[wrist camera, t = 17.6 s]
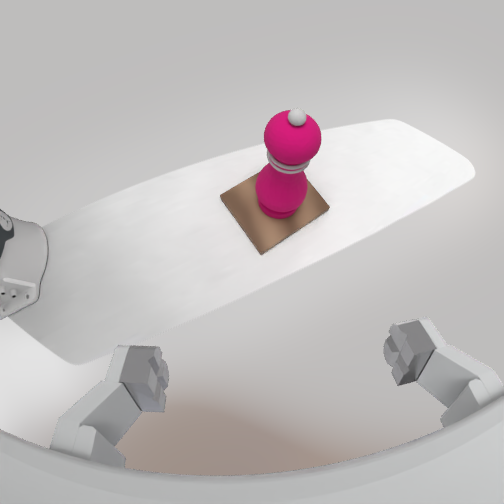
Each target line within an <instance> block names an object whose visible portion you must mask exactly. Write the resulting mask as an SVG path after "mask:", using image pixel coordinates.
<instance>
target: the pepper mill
mask: <svg viewBox="0 0 504 504" xmlns="http://www.w3.org/2000/svg"><path fill="white" fill-rule="evenodd" d="M264 142H265V145H266V148H267V158H268V161H269V163H268V164H267V165H266V166H265V167H264V168H263V169H262V170H261V171H260V173H259V175H258V177H257V180H256V185H255V190H256V194H257V197H258V204H259V207H260V208H261V210H262V211H263V212H264V213H265V214H266V215H268V216H269V217H272V218H275V219H284V218H287V217H289V216H291V215H292V214H294V212H295V211H296V210H297V208H298V207H299V206H300V205H301V204H302V203H303V201H304V199H305V197H306V194H307V189H308V185H307V178H306V175H305V173H304V171H303V170H304V169H305V168H306V167H307V166H308V165H309V162H310V159H312V158H313V157H314V156H315V155H316V154H317V152H318V150H319V148H320V145H321V131H320V128H319V126H318V125H317V123H316V122H315V121H314V120H313V119H312V118H311V117H310V116H309V115H307V114H306V113H305V112H304V111H303V110H301V109H299V108H296V109H292V110H288V111H283V112H281V113H278V114H276V115H275V116H274V117H273V118H271V120H270V121H269V122H268V124H267V126H266V128H265V132H264Z"/></svg>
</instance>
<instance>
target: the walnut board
mask: <svg viewBox="0 0 504 504" xmlns="http://www.w3.org/2000/svg"><path fill="white" fill-rule="evenodd" d="M259 173H260V172H259ZM259 173H257V174H255V175H254V176H252V177H250V178H248V179H247V180H245V181H243V182H242V183H240V184H238V185H236V186H235V187H233V188H231V189H230V190H228V191H226V192H225V193H223V194H221V195H220V197H221V200H222V201H223V202H224V204H225V205H226V207H227V208H228V209H229V211H230V212H231V214H232V215H233V216H234V218H235V219H236V221H237V222H238V223H239V225H240V226H241V228H242V229H243V230H244V232H245V233H246V235H247V236H248V237H249V239H250V240H251V242H252V243H253V244H254V246H255V247H256V249H257V250H258V251H259V253H260V254H261V255H262V254H263V253H265V252H266V251H268V250H269V249H271V248H272V247H274V246H275V245H277V244H278V243H280V242H281V241H283V240H284V239H286V238H287V237H289V236H290V235H292V234H293V233H295V232H296V231H298V230H299V229H301V228H302V227H304V226H305V225H307V224H308V223H310V222H311V221H313V220H314V219H316V218H317V217H319V216H320V215H322V214H323V213H325V212H326V211H328V210H329V208H330V207H329V205H328V204H327V203H326V202H325V200H324V199H323V198H322V197H321V195H320V194H319V193H318V192H317V191H316V189H315V188H314V187H313V186H312V185H311V183H310V182H309V181H308V180H307V185H308V189H307V194H306V197H305V199H304V201H303V203H302V204H301V205H300V206H299V207H298V208H297V210H296V211H295V212H294V214H292V215H291V216H289V217H287V218H284V219H275V218H272V217H269V216H268V215H266V214H265V213H264V212H263V211H262V210H261V208H260V207H259V204H258V197H257V194H256V190H255V185H256V180H257V177H258V175H259Z"/></svg>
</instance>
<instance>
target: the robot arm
mask: <svg viewBox="0 0 504 504" xmlns="http://www.w3.org/2000/svg"><path fill="white" fill-rule="evenodd" d="M47 254H48V246H47V239H46V236H45V233H44V231H43V229H42V228H41V227H40V226H39V225H37V224H36V223H33V222H26V221H22V220H18V219H15V218H13V217H10V216H8V215H7V214H6V213H5V212H3V211H2V210H1V209H0V320H1V319H3V318H5V317H7V316H9V315H11V314H13V313H15V312H16V311H18V310H20V309H22V308H24V307H26V306H28V305H30V304H32V303H34V302H36V301H37V299H38V296H39V287H40V281H41V278H42V275H43V273H44V270H45V266H46V262H47ZM389 333H390V336H389V337H388V338H387V339H386V341H385V344H384V356H385V360H386V362H387V363H388V364H389V365H390V366H392V367H393V369H392V375H393V377H394V379H395V381H396V383H397V386H399V385H403V384H407V383H411V382H414V381H416V382H417V383H418V384H419V385H420V386H422V387H423V388H424V389H425V390H426V391H428V392H429V393H430V394H431V395H433V396H434V397H435V398H436V399H437V400H439V401H440V402H441V403H442V404H444V405H445V406H446V407H447V408H448V409H447V410H446V412H445V413H444V414H443V415H442V416H441V419H440V420H441V422H442V424H443V427H444V428H442V429H440V430H437V431H435V432H433V433H431V434H428V435H425V436H423V437H420V438H418V439H415V440H413V441H410V442H407V443H404V444H402V445H399V446H396V447H393V448H390V449H387V450H383V451H381V452H377V453H374V454H370V455H367V456H363V457H359V458H355V459H351V460H347V461H343V462H338V463H334V464H329V465H324V466H319V467H313V468H307V469H301V470H293V471H286V472H277V473H267V474H254V475H236V476H235V475H234V476H232V475H231V476H202V475H181V474H168V473H158V472H149V471H141V470H135V469H128V468H125V461H126V458H125V456H124V455H123V454H122V453H121V452H120V451H118V450H117V449H116V448H115V445H116V444H117V443H118V441H119V440H120V439H121V438H122V437H123V435H124V434H125V433H126V432H127V430H128V429H129V428H130V427H131V426H132V424H133V423H134V422H135V421H136V419H137V418H138V417H139V416H140V414H141V413H142V412H141V411H146V412H164V409H165V402H166V395H165V393H164V390H165V389H166V388H167V387H168V381H169V374H168V367H167V364H166V362H165V361H164V360H162V359H161V357H162V352H161V350H160V347H155V346H127V345H118V346H117V347H116V349H115V351H114V354H113V357H112V360H111V363H110V366H109V369H108V372H107V375H106V378H105V381H101V382H99V383H98V384H97V385H96V386H95V387H94V388H92V389H91V390H90V391H89V392H88V393H87V394H86V395H85V396H83V397H82V398H81V399H80V400H79V401H78V402H77V403H75V404H74V405H73V406H72V407H71V408H70V409H69V410H68V411H66V412H65V413H64V414H63V415H62V416H61V417H60V418H59V419H58V422H57V426H56V428H55V432H54V435H53V438H52V442H51V445H50V449H48V448H45V447H42V446H40V445H37V444H34V443H32V442H29V441H26V440H24V439H21V438H18V437H17V436H14V435H12V434H10V433H7V432H5V431H3V430H1V429H0V504H504V386H503V384H502V382H501V381H500V379H499V377H498V376H497V374H496V372H495V371H494V369H492V368H490V367H488V366H487V365H485V364H483V363H482V362H480V361H478V360H476V359H475V358H473V357H471V356H469V355H468V354H466V353H464V352H462V351H461V350H459V349H457V348H455V347H453V346H452V345H447V344H446V342H445V341H444V339H443V338H442V336H441V335H440V333H439V332H438V330H437V329H436V327H435V326H434V324H433V323H432V321H431V320H430V319H429V318H428V317H423V318H418V319H414V320H409V321H404V322H399V323H395V324H393V325H392V326H391V327H390V330H389Z"/></svg>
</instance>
